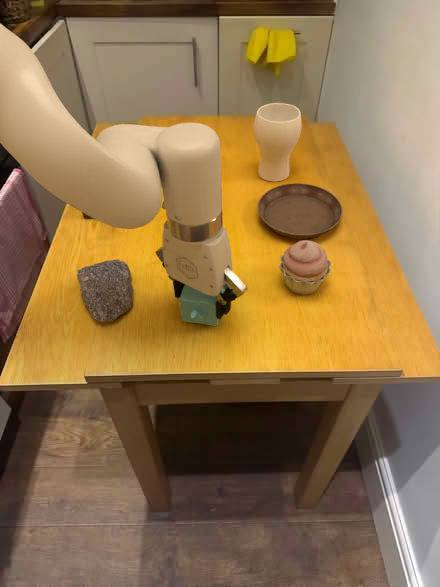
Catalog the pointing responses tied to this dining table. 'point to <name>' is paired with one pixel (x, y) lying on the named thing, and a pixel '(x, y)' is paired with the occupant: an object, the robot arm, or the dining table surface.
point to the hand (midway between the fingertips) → (202, 302)
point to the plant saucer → (300, 210)
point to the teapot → (198, 306)
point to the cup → (276, 138)
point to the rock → (106, 289)
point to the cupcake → (304, 267)
